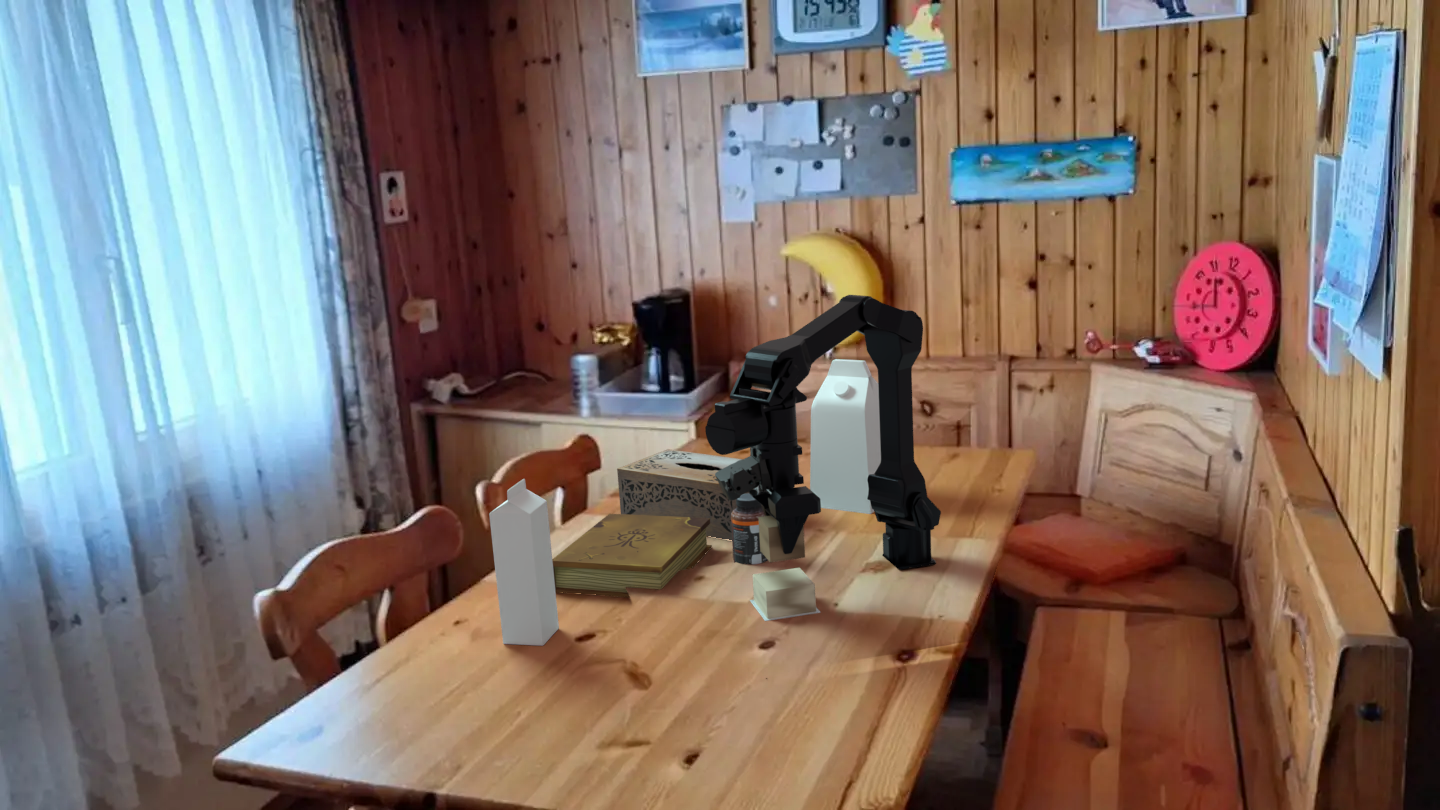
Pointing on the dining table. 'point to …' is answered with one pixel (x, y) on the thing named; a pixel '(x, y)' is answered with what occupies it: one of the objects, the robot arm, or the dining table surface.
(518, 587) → the milk
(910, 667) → the dining table surface
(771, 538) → the walnut cube
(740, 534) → the supplement bottle
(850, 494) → the milk
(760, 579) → the maple block
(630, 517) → the diary
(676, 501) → the tissue box cover
